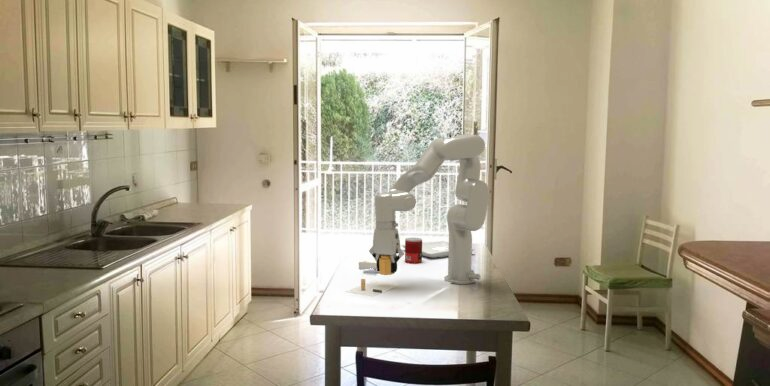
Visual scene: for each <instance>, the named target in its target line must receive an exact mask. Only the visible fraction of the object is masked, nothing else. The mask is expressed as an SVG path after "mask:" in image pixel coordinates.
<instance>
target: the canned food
mask: <svg viewBox="0 0 770 386" xmlns="http://www.w3.org/2000/svg"><path fill="white" fill-rule="evenodd" d="M422 242H423V239H422V238H421V237H420V238H419V237H407V238H405V241H404V245H405V248H404V261H405V263H407V264H413V265H417V264H421V263H422V261H423V255H422Z"/></svg>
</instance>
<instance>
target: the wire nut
mask: <svg viewBox="0 0 770 386" xmlns="http://www.w3.org/2000/svg"><path fill="white" fill-rule="evenodd" d="M391 263H392V260H391V257H390V255H381V257H380V258H379V271H378V272H379V274H380V275H381V276H390V275H393V274H395V273H396V272H394V273H391Z"/></svg>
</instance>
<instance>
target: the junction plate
mask: <svg viewBox="0 0 770 386" xmlns="http://www.w3.org/2000/svg"><path fill="white" fill-rule="evenodd" d="M398 286H399V284H398V283H393V282H392V283H390V282H383V281H377V280H372V281H369V282H366V278H361V279H360V285H359V286H357V287H354V288H352V289H349V290H346V291H345V293H351V294H356V295H362V296H369V297H375V296H377V295H379V294H382V293H384V292H386V291H389V290H391V289H393V288H395V287H398Z"/></svg>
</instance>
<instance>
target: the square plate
mask: <svg viewBox="0 0 770 386" xmlns="http://www.w3.org/2000/svg"><path fill="white" fill-rule="evenodd" d="M401 246H402V247H403V249H405V244H400V247H401ZM436 247H446V248H448V249H445V251H443V250H442V251H439V250H433V249H432V248H436ZM473 251H475V248H472V252H473ZM448 252H449V241H445V240H441V241H422V257H426V258H430V259H438V258H437V257H441V258H446V257H445V256H448Z"/></svg>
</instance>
